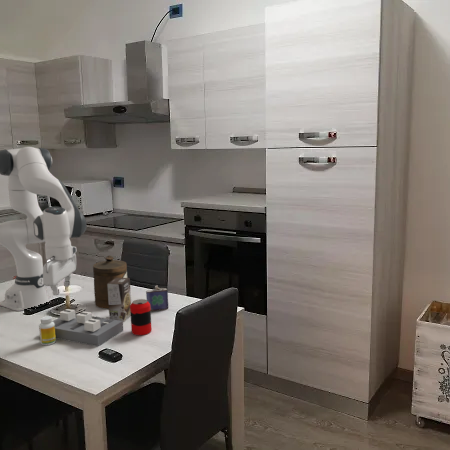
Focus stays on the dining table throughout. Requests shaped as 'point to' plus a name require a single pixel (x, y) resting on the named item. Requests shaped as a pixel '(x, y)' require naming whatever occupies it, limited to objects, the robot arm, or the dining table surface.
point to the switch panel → (80, 335)
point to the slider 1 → (67, 315)
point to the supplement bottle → (47, 331)
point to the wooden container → (106, 278)
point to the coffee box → (119, 299)
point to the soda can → (140, 317)
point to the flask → (157, 298)
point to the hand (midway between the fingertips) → (61, 290)
